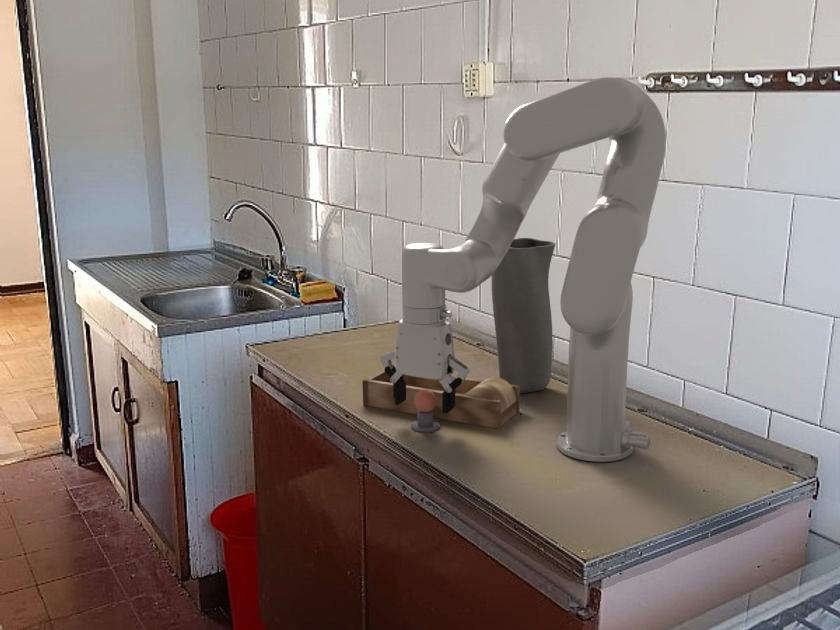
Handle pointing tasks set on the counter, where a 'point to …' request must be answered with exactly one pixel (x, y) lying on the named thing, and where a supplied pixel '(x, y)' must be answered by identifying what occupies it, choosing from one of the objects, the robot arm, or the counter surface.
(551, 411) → the counter surface
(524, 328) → the vase
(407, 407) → the wooden trough
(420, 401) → the ball
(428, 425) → the stand
